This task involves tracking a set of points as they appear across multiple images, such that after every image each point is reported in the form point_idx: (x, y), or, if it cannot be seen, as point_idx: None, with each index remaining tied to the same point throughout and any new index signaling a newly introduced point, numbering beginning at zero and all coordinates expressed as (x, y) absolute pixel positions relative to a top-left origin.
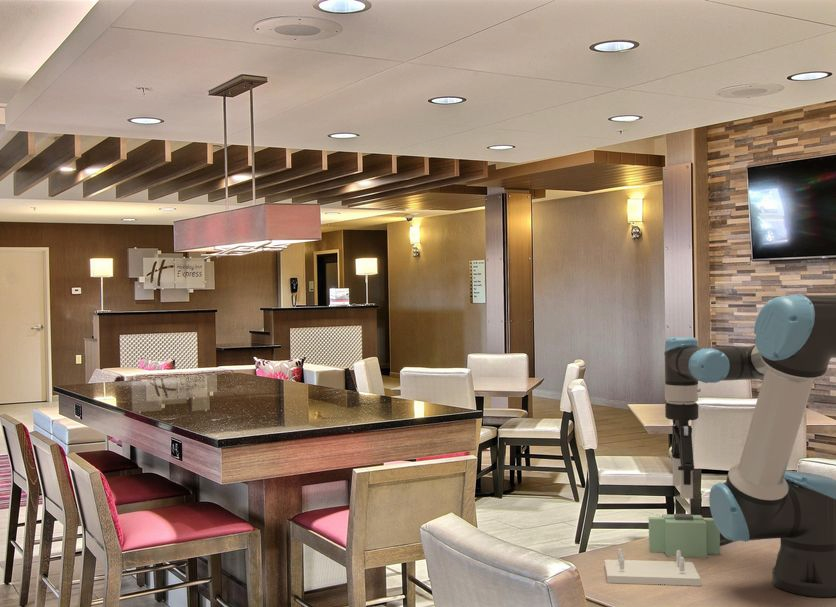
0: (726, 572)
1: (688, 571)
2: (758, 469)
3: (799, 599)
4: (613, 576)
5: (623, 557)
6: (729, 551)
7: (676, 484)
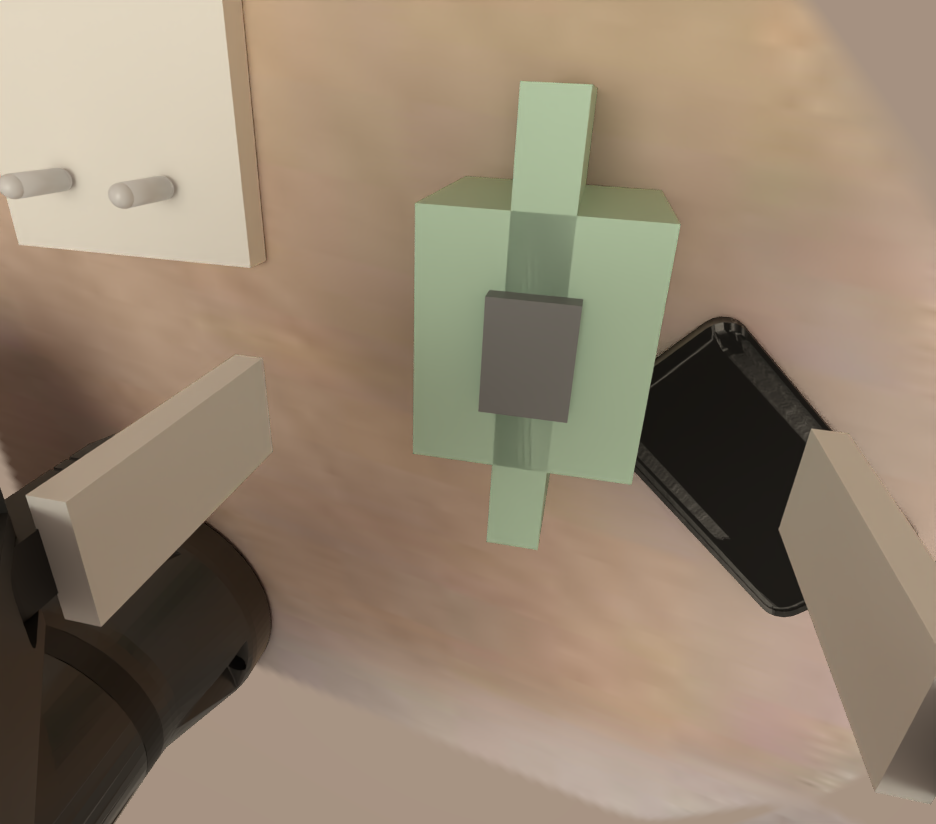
0: None
1: (100, 215)
2: None
3: None
4: None
5: None
6: (560, 496)
7: (805, 465)
